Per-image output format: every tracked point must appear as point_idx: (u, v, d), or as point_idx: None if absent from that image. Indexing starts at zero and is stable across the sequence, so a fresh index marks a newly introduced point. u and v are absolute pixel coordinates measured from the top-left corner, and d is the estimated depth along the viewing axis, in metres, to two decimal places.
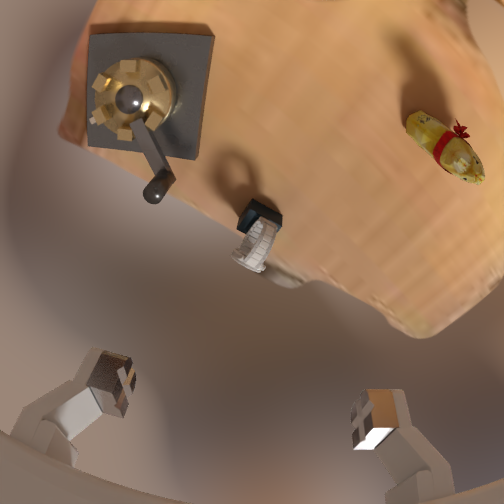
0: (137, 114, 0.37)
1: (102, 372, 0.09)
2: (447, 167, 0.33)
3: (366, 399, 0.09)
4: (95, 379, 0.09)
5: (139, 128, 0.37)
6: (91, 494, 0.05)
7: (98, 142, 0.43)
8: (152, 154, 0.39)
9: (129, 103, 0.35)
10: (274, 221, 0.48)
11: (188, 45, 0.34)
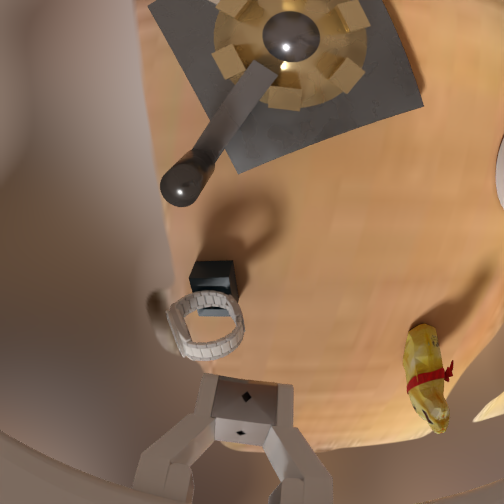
0: (272, 62, 0.20)
1: (226, 400, 0.09)
2: (417, 393, 0.34)
3: None
4: (220, 409, 0.08)
5: (257, 81, 0.20)
6: (91, 494, 0.05)
7: (165, 18, 0.21)
8: (225, 126, 0.21)
9: (286, 40, 0.18)
10: None
11: (399, 80, 0.22)
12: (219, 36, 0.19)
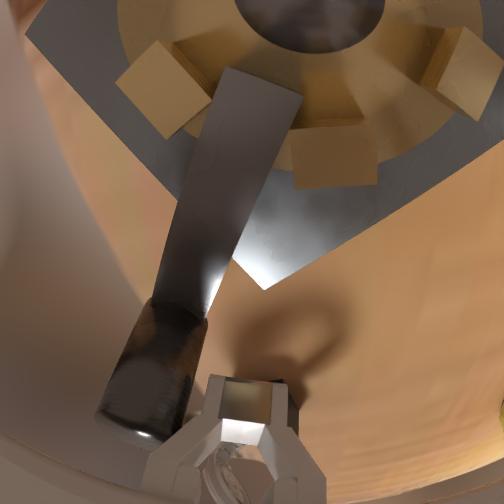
0: (278, 63, 0.07)
1: (233, 401, 0.09)
2: None
3: None
4: (227, 410, 0.08)
5: (250, 124, 0.07)
6: (91, 494, 0.05)
7: (53, 42, 0.10)
8: (201, 250, 0.09)
9: None
10: None
11: None
12: (133, 34, 0.07)
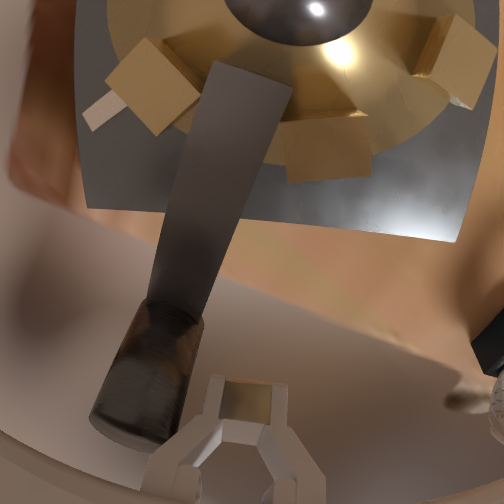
0: (268, 57, 0.07)
1: (233, 401, 0.09)
2: None
3: None
4: (228, 410, 0.08)
5: (240, 118, 0.07)
6: (91, 494, 0.05)
7: (121, 193, 0.13)
8: (194, 248, 0.09)
9: None
10: None
11: None
12: (122, 32, 0.07)
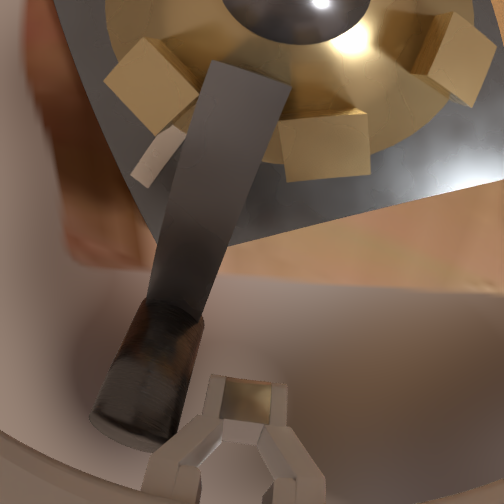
0: (266, 55, 0.07)
1: (234, 401, 0.09)
2: None
3: None
4: (228, 410, 0.08)
5: (238, 117, 0.07)
6: (91, 494, 0.05)
7: None
8: (194, 247, 0.09)
9: None
10: None
11: None
12: (121, 32, 0.07)
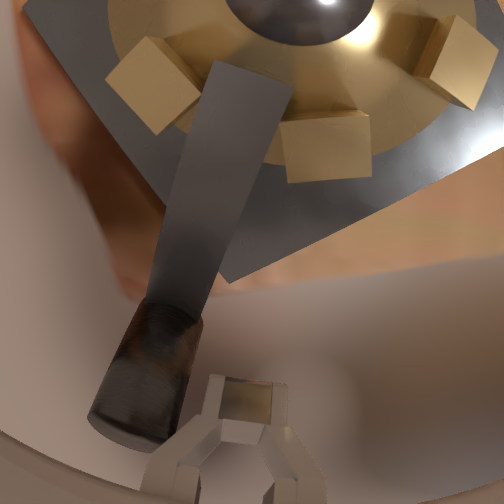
0: (268, 56, 0.07)
1: (233, 401, 0.09)
2: None
3: None
4: (227, 410, 0.08)
5: (240, 117, 0.07)
6: (91, 494, 0.05)
7: (255, 253, 0.15)
8: (194, 248, 0.09)
9: None
10: None
11: None
12: (123, 31, 0.07)
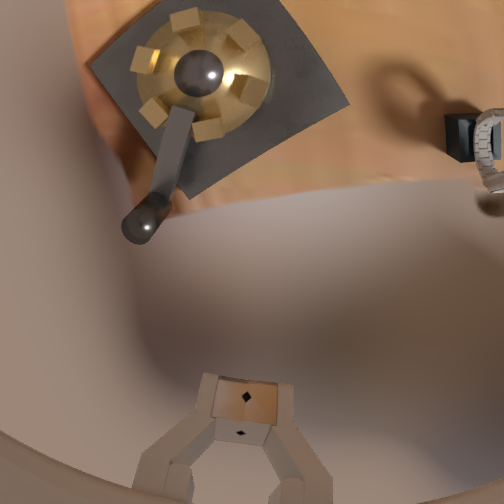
0: (191, 101, 0.23)
1: (226, 400, 0.09)
2: None
3: None
4: (220, 409, 0.08)
5: (180, 122, 0.23)
6: (91, 494, 0.05)
7: (200, 182, 0.30)
8: (167, 167, 0.25)
9: (195, 79, 0.22)
10: None
11: None
12: (143, 92, 0.23)
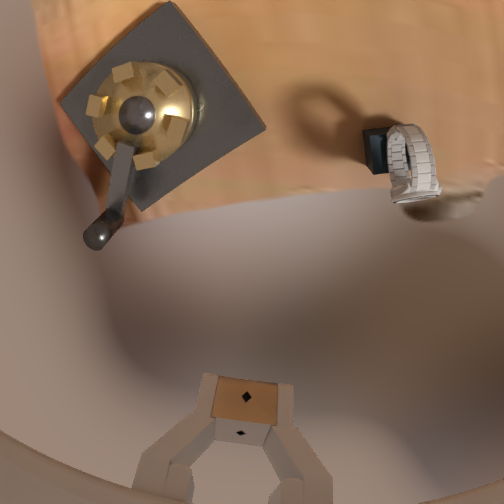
0: (132, 137, 0.29)
1: (226, 400, 0.09)
2: None
3: None
4: (220, 409, 0.08)
5: (124, 155, 0.29)
6: (91, 494, 0.05)
7: (149, 198, 0.37)
8: (117, 189, 0.31)
9: (134, 120, 0.28)
10: None
11: (155, 26, 0.26)
12: (97, 130, 0.29)
